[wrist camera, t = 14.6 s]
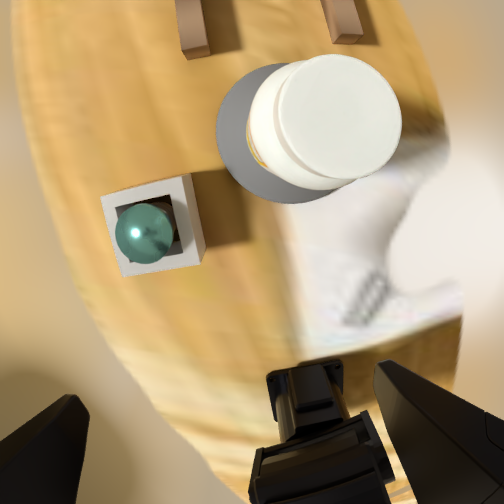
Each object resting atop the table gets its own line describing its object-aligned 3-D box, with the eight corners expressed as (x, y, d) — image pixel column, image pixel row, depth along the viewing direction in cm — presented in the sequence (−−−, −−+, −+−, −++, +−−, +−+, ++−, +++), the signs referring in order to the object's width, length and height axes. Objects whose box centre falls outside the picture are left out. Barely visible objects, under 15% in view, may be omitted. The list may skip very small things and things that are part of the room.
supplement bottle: (227, 141, 17) (211, 123, 8) (282, 76, 15) (323, 4, 6) (297, 195, 18) (354, 237, 9) (349, 131, 17) (443, 118, 8)
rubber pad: (364, 192, 19) (368, 193, 18) (230, 212, 19) (230, 214, 18) (344, 63, 16) (347, 60, 15) (206, 76, 16) (205, 74, 15)
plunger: (188, 239, 19) (177, 258, 15) (143, 248, 19) (124, 268, 15) (178, 190, 18) (163, 199, 14) (131, 201, 18) (108, 212, 14)
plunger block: (206, 247, 19) (200, 264, 17) (137, 260, 19) (122, 277, 17) (190, 172, 18) (181, 176, 15) (119, 190, 18) (100, 196, 15)
